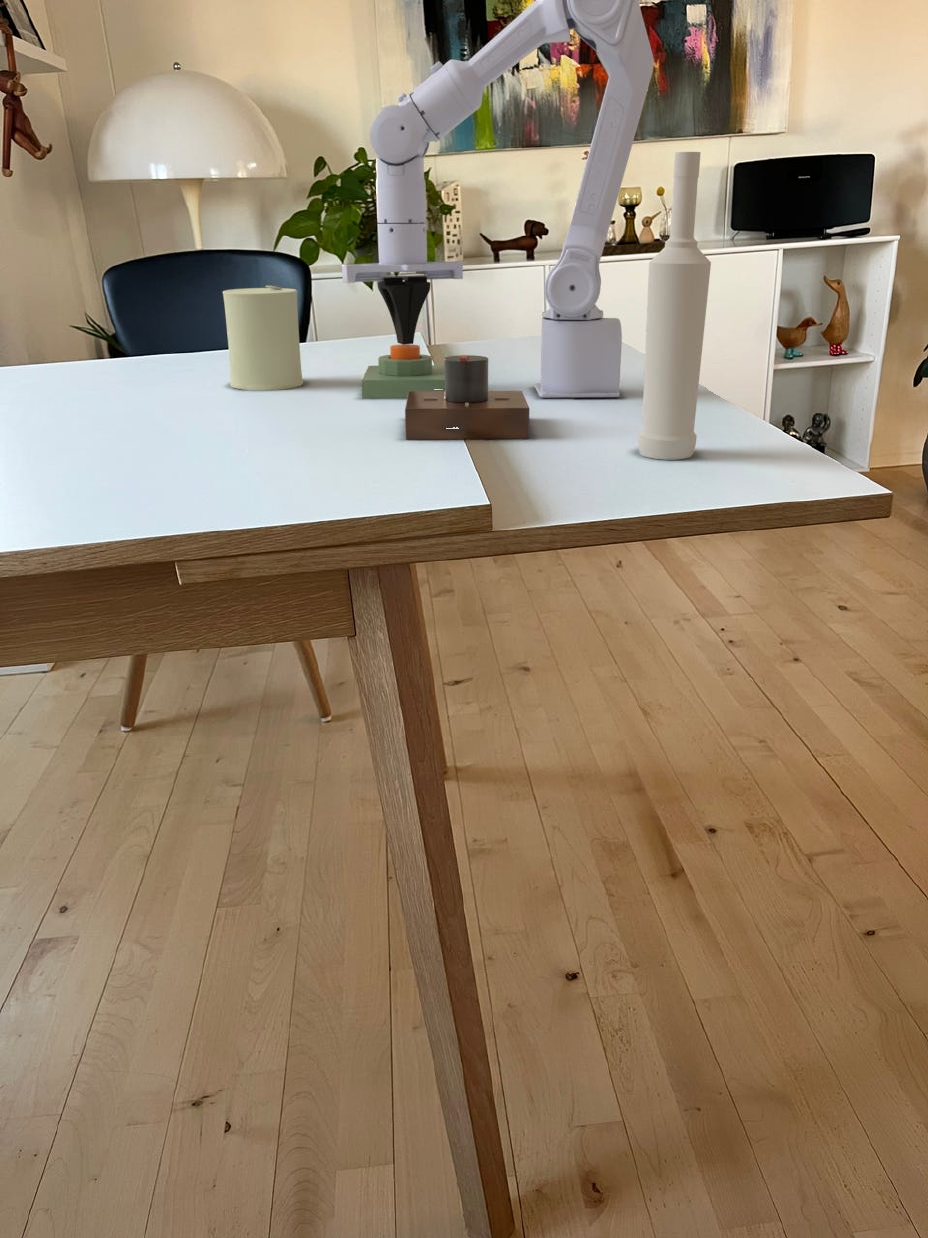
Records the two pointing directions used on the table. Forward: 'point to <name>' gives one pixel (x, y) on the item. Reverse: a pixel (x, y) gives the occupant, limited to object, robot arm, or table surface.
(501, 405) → the dial panel
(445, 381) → the dial
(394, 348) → the button
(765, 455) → the table surface
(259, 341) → the can
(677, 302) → the bottle
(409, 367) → the green button base
